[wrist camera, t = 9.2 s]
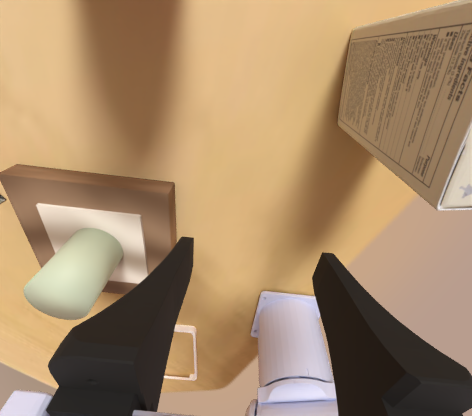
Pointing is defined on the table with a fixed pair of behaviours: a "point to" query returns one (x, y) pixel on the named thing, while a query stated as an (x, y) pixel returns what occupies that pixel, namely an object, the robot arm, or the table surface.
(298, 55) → the table surface
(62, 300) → the sage cylinder
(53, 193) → the walnut base
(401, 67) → the skincare box
